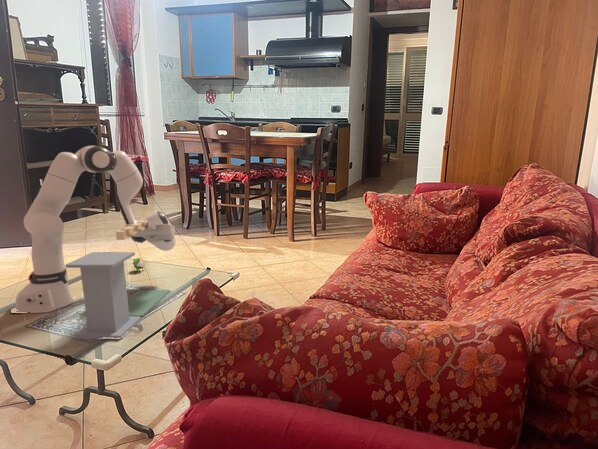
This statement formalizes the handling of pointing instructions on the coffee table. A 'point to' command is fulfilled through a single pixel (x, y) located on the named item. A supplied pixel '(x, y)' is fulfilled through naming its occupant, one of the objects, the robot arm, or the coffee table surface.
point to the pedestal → (105, 295)
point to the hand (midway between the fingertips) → (142, 224)
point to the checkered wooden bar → (131, 230)
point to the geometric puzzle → (138, 264)
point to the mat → (144, 301)
